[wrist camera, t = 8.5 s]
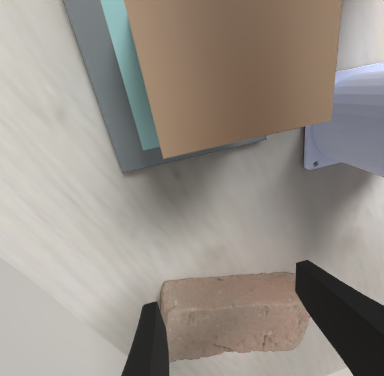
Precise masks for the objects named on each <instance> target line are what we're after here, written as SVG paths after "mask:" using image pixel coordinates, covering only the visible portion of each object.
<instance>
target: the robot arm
mask: <svg viewBox="0 0 384 376" xmlns="http://www.w3.org/2000/svg"><path fill="white" fill-rule="evenodd" d="M315 162H316V163H315ZM341 162H343V163H346V164H348V165H351V166H354V167H357V168H359V169H362V170H365V171H368V172H371V173H373V174H376V175H379V176H382V177H384V62H380V63H375V64H371V65H366V66H361V67H356V68H351V69H347V70H342V71H337V72H336V74H335V86H334V97H333V108H332V119H331V121H327V122H322V123H318V124H313V125H309V126H305V147H304V168H305V169H307V170H313V169H317V168H321V167H325V166H329V165H333V164H337V163H341ZM314 163H315V165H313V164H314ZM295 292H296V294H297V295H298V297H299V299H300V301H301V302H302V304H303V306H304V307H305V309H306V311H307V312H308V313H309V315H310V316H311V318H312V319H313V320H314V322H315V323H316V324H317V326H318V327H319V328H320V330H321V331H322V332H323V334H324V335H325V336H326V338H327V339H328V341H329V342H330V343H331V345H332V346H333V347H334V349H335V350H336V351H337V353H338V354H339V355H340V357H341V358H342V359H343V361H344V362H345V364H346V365H347V366H348V368H349V369H350V371H351V372H352V374H353V376H384V306H383V305H381V304H379V303H378V302H376V301H374V300H372V299H370V298H369V297H367V296H365V295H363V294H362V293H360V292H358V291H357V290H355V289H353V288H352V287H350V286H348V285H347V284H345V283H343V282H342V281H340V280H338V279H337V278H335V277H334V276H332V275H331V274H329V273H327V272H326V271H324V270H323V269H321V268H320V267H318V266H316V265H315V264H313V263H312V262H310V261H308V260H305V261H302V262H298V263H296V281H295ZM121 376H169V350H168V341H167V332H166V327H165V324H164V321H163V318H162V315H161V312H160V309H159V306H158V303H157V301H156V302H152V303H149V304H145V305H144V306H143V307H142V311H141V316H140V320H139V323H138V327H137V331H136V334H135V337H134V341H133V344H132V347H131V350H130V353H129V356H128V359H127V362H126V365H125V367H124V370H123V372H122V375H121Z"/></svg>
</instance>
